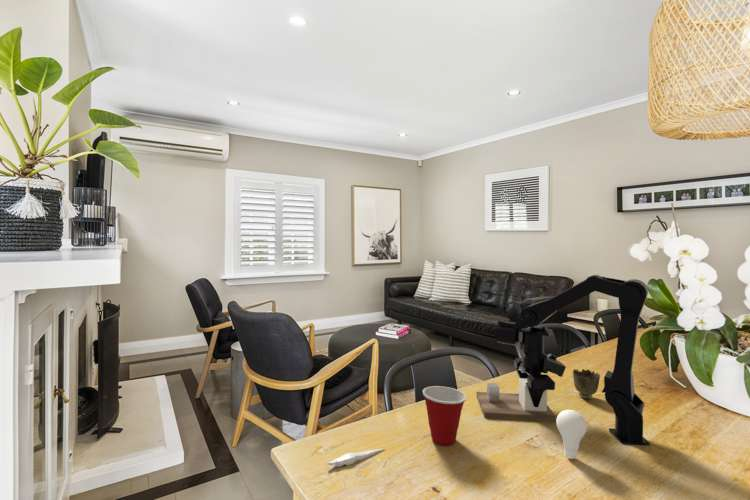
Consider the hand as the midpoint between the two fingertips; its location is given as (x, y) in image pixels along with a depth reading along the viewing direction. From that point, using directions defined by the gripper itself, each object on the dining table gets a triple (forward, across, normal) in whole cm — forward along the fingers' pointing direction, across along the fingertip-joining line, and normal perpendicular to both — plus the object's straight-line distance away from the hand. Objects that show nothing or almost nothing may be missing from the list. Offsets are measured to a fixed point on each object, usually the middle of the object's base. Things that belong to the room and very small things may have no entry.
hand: (532, 401), depth 108 cm
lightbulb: (+3, -24, -2) cm, 24 cm away
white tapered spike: (+3, -29, +47) cm, 55 cm away
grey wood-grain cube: (+1, +3, +10) cm, 11 cm away
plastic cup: (+3, -18, +26) cm, 32 cm away
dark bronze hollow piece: (+3, +12, -20) cm, 23 cm away
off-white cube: (+1, 0, 0) cm, 1 cm away
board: (+3, +2, +5) cm, 6 cm away
